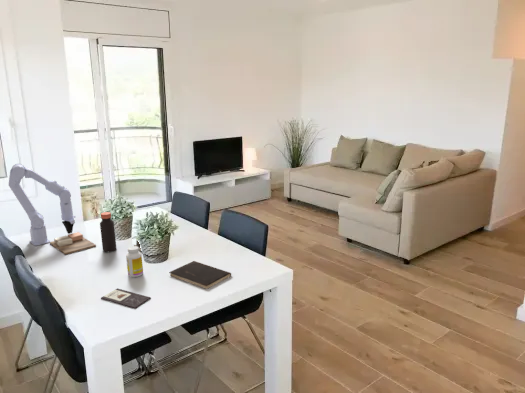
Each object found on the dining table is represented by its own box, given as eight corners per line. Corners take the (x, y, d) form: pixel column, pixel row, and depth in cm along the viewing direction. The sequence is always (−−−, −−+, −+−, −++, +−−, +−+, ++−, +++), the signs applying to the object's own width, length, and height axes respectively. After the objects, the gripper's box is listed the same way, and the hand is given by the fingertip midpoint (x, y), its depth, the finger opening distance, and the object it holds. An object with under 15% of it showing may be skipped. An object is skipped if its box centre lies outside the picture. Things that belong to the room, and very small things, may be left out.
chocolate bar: (134, 307, 165) (100, 297, 173) (135, 309, 165) (101, 299, 173) (150, 297, 173) (117, 288, 181) (150, 299, 173) (117, 290, 181)
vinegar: (107, 253, 220) (103, 216, 214) (100, 250, 224) (96, 213, 219) (119, 249, 225) (115, 213, 219) (112, 246, 229) (108, 210, 224)
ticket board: (50, 243, 234) (49, 237, 233) (79, 236, 244) (78, 230, 244) (65, 254, 218) (64, 248, 218) (96, 246, 229) (95, 240, 228)
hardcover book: (206, 290, 180) (206, 285, 180) (169, 276, 194) (169, 272, 193) (231, 276, 193) (231, 272, 192) (194, 264, 206) (194, 260, 206)
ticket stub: (67, 238, 237) (67, 234, 236) (78, 236, 241) (78, 232, 240) (72, 241, 233) (71, 237, 232) (83, 238, 237) (82, 234, 236)
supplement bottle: (146, 272, 197) (143, 246, 194) (137, 278, 191) (135, 251, 188) (133, 270, 199) (131, 244, 196) (124, 276, 193) (122, 249, 190)
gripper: (79, 211, 236) (82, 234, 240) (69, 206, 246) (72, 228, 250) (65, 213, 232) (69, 237, 235) (56, 208, 242) (59, 231, 245)
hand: (69, 233), depth 242 cm, fingers closed
